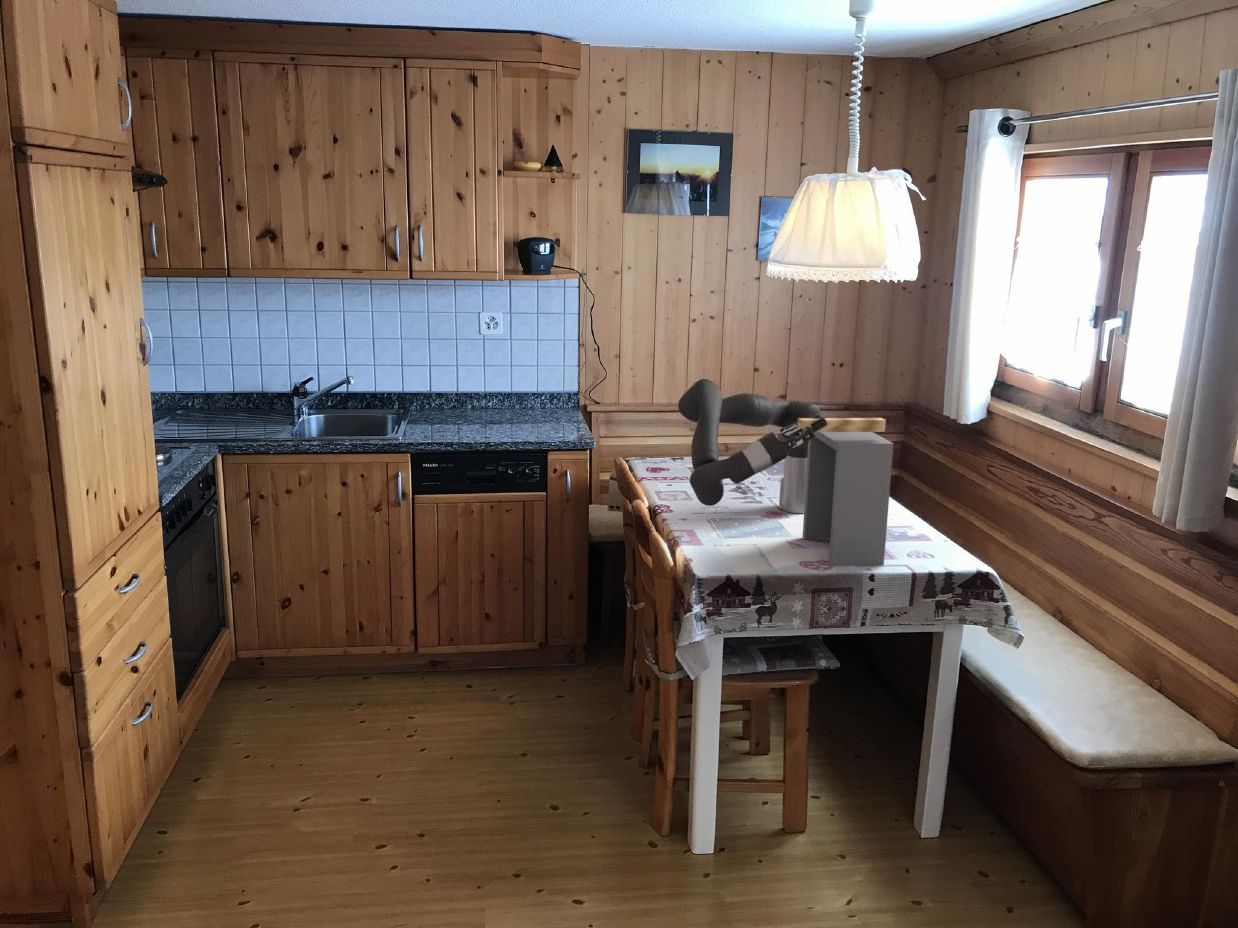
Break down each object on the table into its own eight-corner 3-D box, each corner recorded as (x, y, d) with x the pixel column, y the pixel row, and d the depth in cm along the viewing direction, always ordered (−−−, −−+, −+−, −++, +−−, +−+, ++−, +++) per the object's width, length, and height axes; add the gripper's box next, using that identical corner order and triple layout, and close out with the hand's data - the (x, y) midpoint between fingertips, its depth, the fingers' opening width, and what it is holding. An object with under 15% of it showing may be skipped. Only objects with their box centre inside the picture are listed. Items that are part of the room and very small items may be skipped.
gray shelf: (831, 566, 258) (839, 444, 250) (802, 537, 281) (809, 425, 274) (883, 564, 260) (893, 443, 252) (850, 536, 283) (858, 424, 275)
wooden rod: (800, 432, 252) (801, 420, 251) (797, 429, 255) (797, 418, 254) (884, 431, 255) (885, 420, 254) (880, 429, 258) (881, 417, 257)
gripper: (762, 459, 261) (820, 426, 261) (778, 472, 248) (839, 437, 248) (749, 435, 259) (808, 401, 259) (764, 447, 246) (826, 411, 246)
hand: (822, 419), depth 254 cm, fingers closed on wooden rod, 3 cm apart
